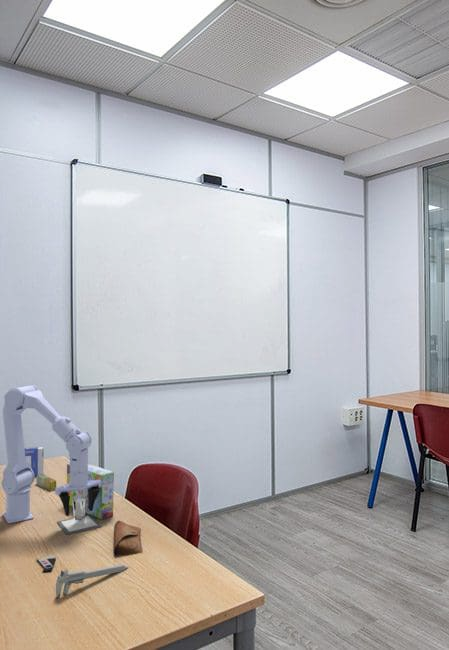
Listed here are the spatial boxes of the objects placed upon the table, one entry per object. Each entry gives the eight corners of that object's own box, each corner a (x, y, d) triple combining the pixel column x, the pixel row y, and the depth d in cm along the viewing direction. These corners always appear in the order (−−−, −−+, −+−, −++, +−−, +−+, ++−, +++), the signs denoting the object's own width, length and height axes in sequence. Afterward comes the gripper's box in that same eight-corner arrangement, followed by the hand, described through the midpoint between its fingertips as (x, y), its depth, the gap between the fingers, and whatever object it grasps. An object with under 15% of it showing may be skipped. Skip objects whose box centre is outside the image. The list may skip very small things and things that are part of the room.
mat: (56, 522, 164) (56, 521, 164) (89, 515, 171) (89, 514, 171) (66, 534, 155) (66, 533, 155) (101, 526, 161) (101, 525, 161)
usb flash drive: (51, 573, 133) (51, 569, 133) (30, 575, 132) (30, 571, 132) (57, 558, 141) (57, 554, 141) (37, 559, 140) (37, 555, 140)
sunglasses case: (144, 553, 143) (132, 534, 142) (123, 568, 142) (110, 548, 141) (141, 527, 161) (130, 510, 160) (121, 540, 160) (110, 523, 159)
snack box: (114, 515, 171) (114, 471, 171) (101, 520, 167) (101, 475, 167) (78, 500, 185) (78, 459, 185) (65, 505, 180) (65, 463, 180)
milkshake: (84, 527, 160) (84, 495, 160) (69, 525, 162) (69, 494, 161) (91, 521, 164) (91, 491, 164) (77, 519, 166) (77, 489, 166)
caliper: (58, 599, 120) (58, 573, 120) (55, 597, 121) (55, 572, 121) (128, 569, 135) (128, 545, 135) (126, 567, 136) (126, 544, 136)
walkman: (23, 477, 211) (23, 448, 211) (24, 475, 214) (24, 447, 214) (42, 476, 213) (42, 447, 213) (43, 474, 216) (43, 446, 216)
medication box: (36, 484, 203) (35, 474, 203) (42, 482, 205) (42, 473, 205) (50, 492, 195) (50, 481, 194) (57, 490, 196) (56, 479, 196)
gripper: (59, 477, 155) (59, 521, 156) (105, 470, 163) (105, 511, 164) (53, 471, 161) (53, 514, 161) (97, 464, 169) (97, 504, 170)
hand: (78, 512), depth 163 cm, fingers open, 7 cm apart
